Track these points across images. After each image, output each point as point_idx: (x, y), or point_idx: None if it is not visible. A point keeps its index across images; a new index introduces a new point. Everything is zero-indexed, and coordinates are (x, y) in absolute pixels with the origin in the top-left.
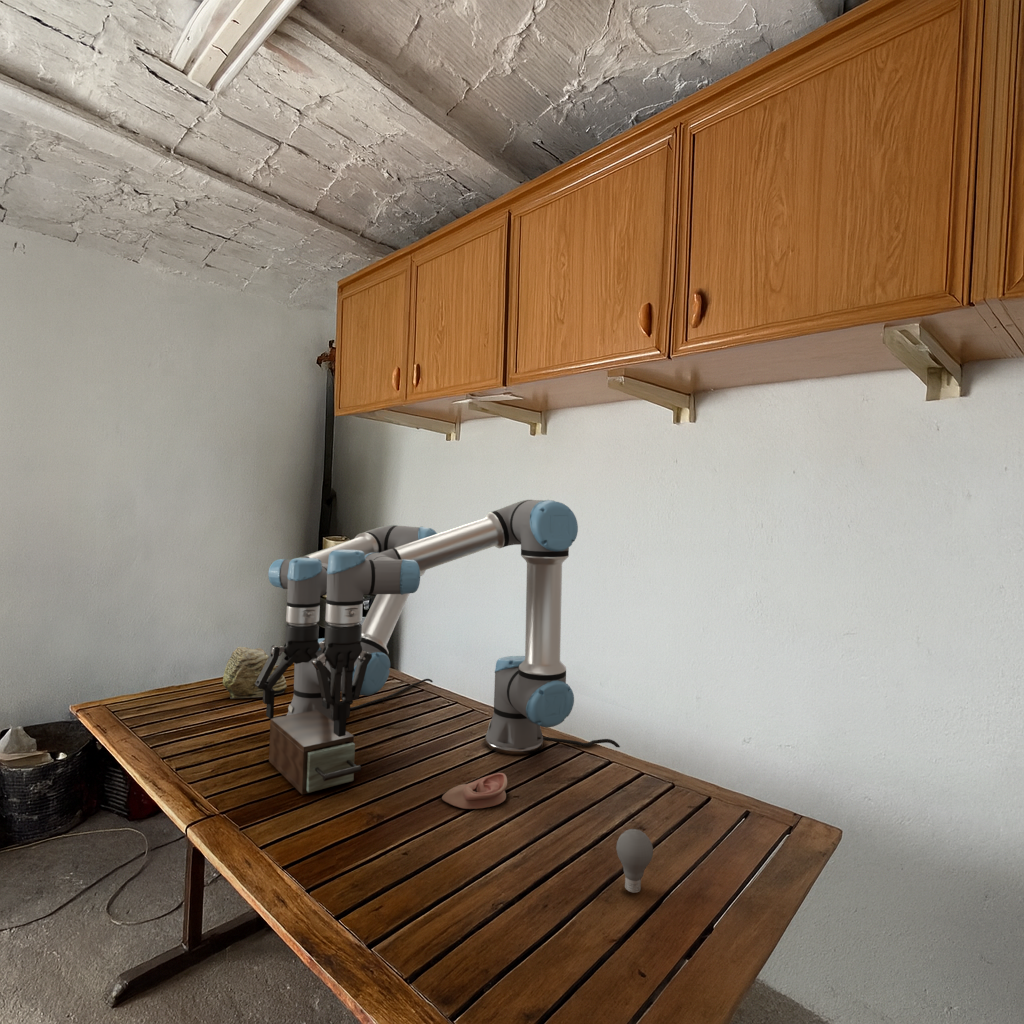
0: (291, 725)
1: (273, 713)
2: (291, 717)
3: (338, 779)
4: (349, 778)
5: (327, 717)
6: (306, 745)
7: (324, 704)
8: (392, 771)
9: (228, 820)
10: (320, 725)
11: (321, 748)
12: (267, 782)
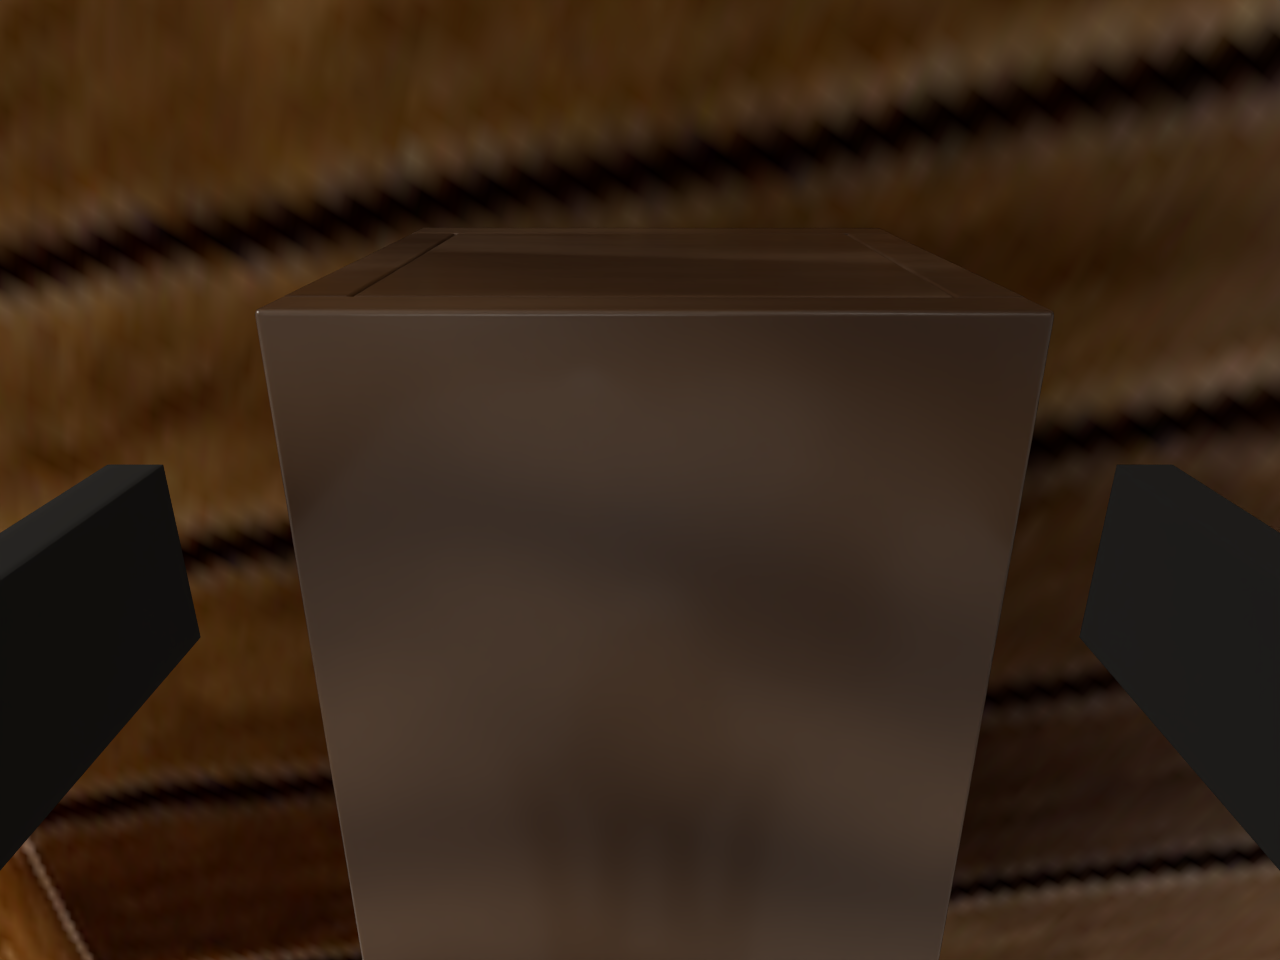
0: (458, 720)
1: (157, 685)
2: (557, 445)
3: None
4: None
5: (984, 693)
6: None
7: (1125, 572)
8: (1109, 868)
9: (44, 901)
10: (765, 875)
11: None
12: None
